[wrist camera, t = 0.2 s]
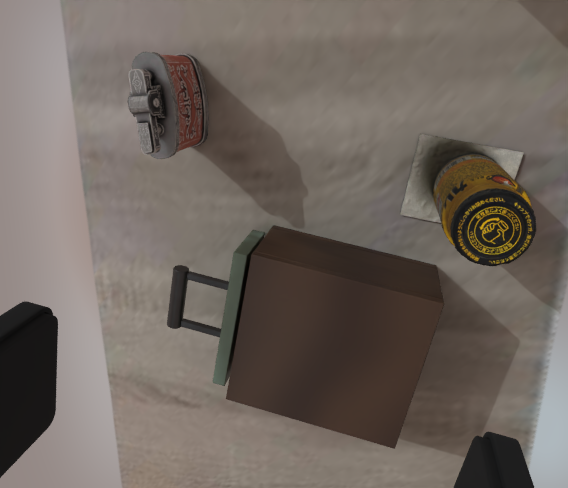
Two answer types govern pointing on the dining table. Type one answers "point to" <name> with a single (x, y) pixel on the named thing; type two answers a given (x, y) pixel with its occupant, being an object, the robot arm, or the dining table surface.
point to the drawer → (232, 304)
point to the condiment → (471, 198)
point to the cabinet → (334, 334)
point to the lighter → (168, 103)
